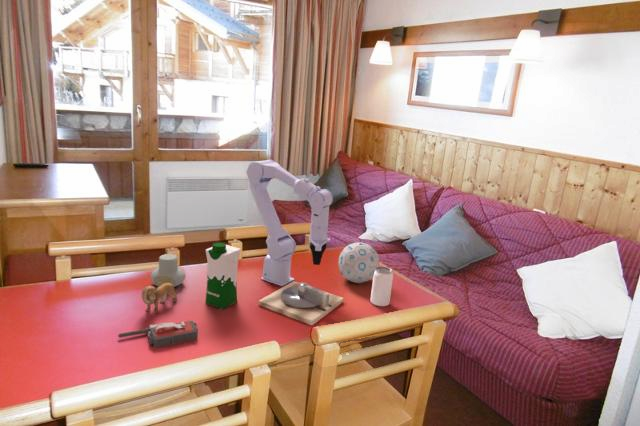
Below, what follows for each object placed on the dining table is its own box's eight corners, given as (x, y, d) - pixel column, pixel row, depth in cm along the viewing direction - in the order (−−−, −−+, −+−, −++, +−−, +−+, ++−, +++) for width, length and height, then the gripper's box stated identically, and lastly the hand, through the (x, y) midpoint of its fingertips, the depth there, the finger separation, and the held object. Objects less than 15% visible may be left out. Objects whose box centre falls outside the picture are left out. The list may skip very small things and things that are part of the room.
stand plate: (258, 305, 142) (258, 299, 142) (293, 285, 159) (293, 280, 159) (311, 325, 133) (312, 320, 132) (342, 301, 150) (343, 297, 149)
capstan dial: (271, 298, 144) (272, 283, 143) (299, 286, 155) (301, 272, 154) (312, 317, 134) (313, 301, 133) (339, 303, 145) (341, 288, 144)
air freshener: (187, 280, 155) (188, 253, 152) (181, 291, 147) (181, 262, 144) (155, 278, 154) (155, 251, 151) (147, 288, 146) (147, 260, 143)
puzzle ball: (329, 281, 165) (333, 242, 161) (349, 269, 178) (353, 234, 174) (365, 293, 158) (370, 254, 154) (383, 281, 170) (388, 244, 166)
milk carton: (201, 303, 140) (202, 243, 134) (220, 293, 148) (222, 236, 142) (223, 311, 136) (225, 250, 131) (241, 301, 144) (244, 242, 138)
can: (388, 308, 148) (393, 275, 145) (369, 305, 149) (373, 271, 146) (389, 300, 154) (394, 268, 151) (371, 297, 155) (375, 264, 152)
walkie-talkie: (193, 324, 128) (117, 338, 118) (194, 310, 127) (117, 323, 117) (202, 339, 121) (122, 356, 111) (203, 325, 120) (122, 340, 109)
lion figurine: (152, 319, 128) (152, 291, 125) (136, 315, 129) (136, 287, 127) (181, 298, 141) (181, 272, 139) (166, 295, 143) (166, 269, 140)
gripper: (332, 233, 142) (328, 272, 145) (330, 220, 156) (327, 257, 159) (309, 231, 142) (307, 271, 145) (310, 219, 156) (307, 256, 159)
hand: (316, 264), depth 152 cm, fingers closed
